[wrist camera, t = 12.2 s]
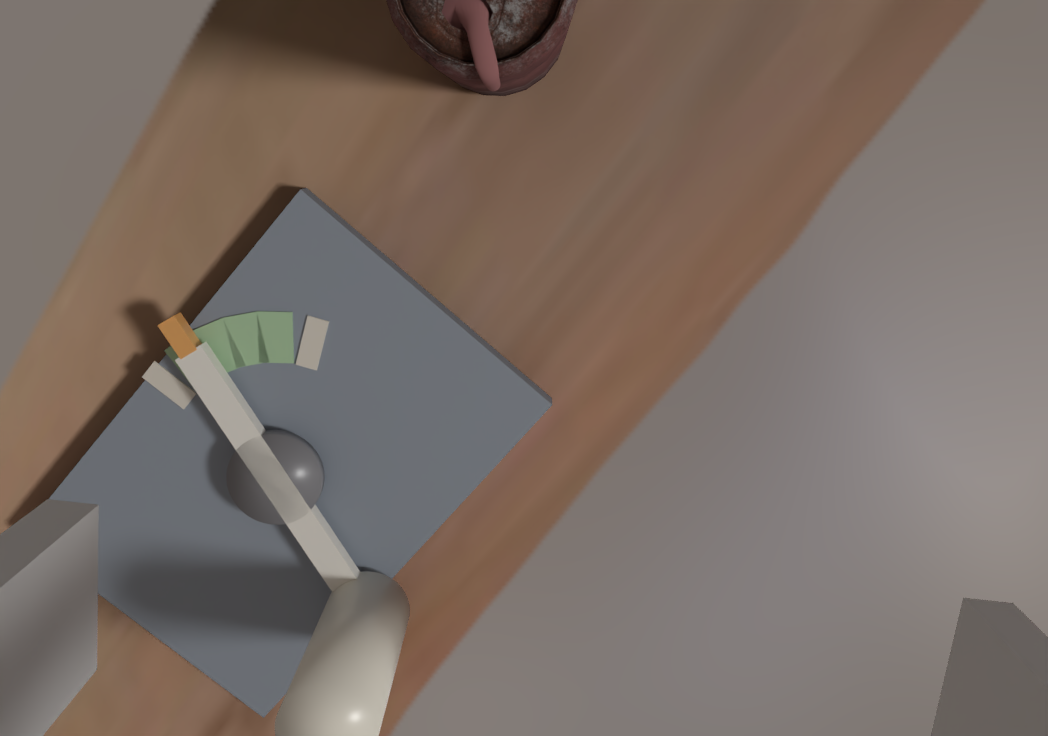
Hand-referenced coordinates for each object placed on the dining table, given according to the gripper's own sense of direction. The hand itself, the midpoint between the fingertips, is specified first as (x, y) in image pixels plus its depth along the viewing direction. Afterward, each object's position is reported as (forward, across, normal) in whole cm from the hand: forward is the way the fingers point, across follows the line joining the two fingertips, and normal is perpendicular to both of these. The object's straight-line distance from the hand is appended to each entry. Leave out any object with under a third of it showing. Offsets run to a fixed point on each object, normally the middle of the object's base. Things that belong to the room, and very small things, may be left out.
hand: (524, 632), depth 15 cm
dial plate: (+32, -11, -10) cm, 35 cm away
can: (+32, -3, +12) cm, 34 cm away
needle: (+30, -11, -10) cm, 33 cm away
